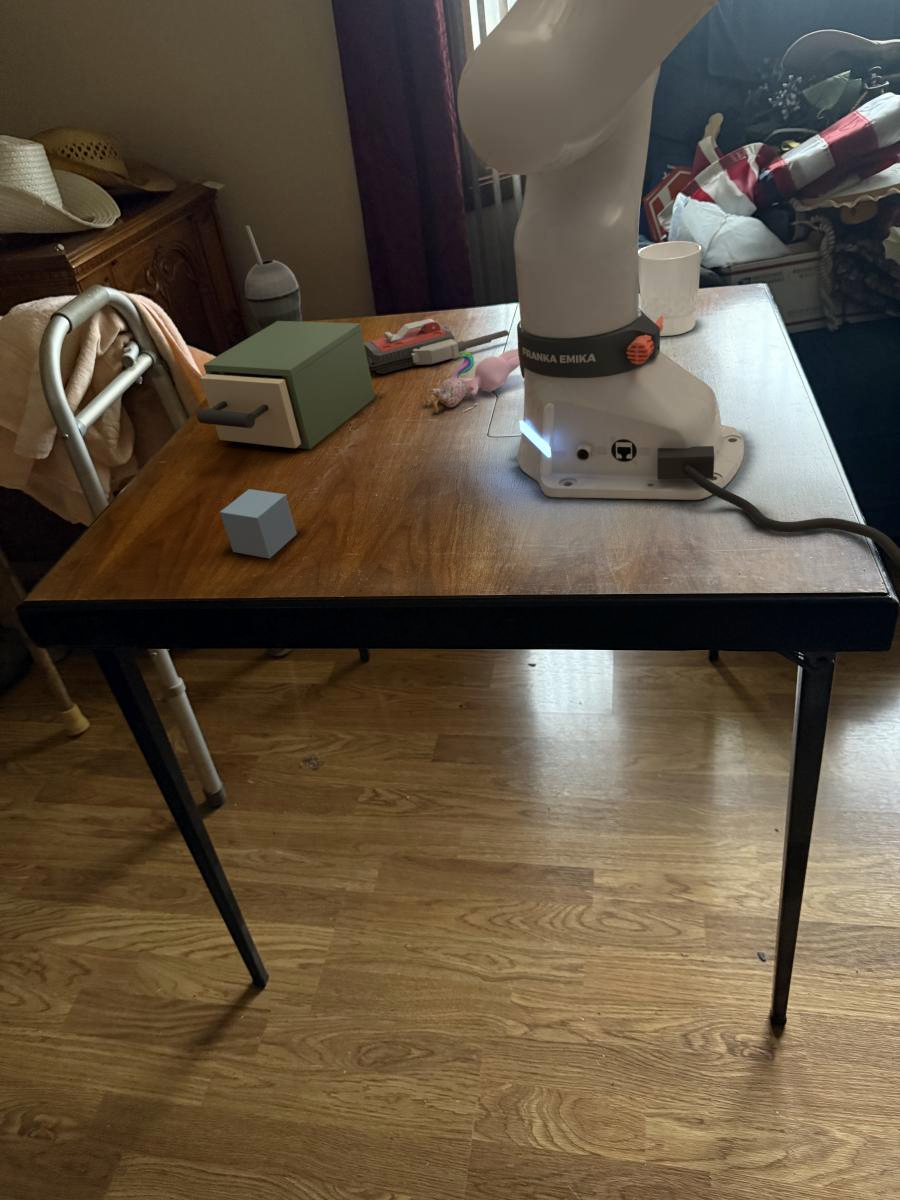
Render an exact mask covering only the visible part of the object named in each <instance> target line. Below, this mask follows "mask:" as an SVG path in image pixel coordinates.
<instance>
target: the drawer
mask: <svg viewBox="0 0 900 1200" xmlns="http://www.w3.org/2000/svg"><path fill="white" fill-rule="evenodd" d="M219 373H220V375H211V374H206V373H205V375H203V376H201V377H200V378H199V379H200V382H201V386H202V388H203V392H204V395H205V398H206V401H207V405H208V408H209V409H208V408H201V409H199V410H198V411H197V413H196V418H197V421H198V422H199V423H200V424H204V425H214V427H215V430H216V433H217V436H218V440H219V441H225V442H226V441H228V442H234V443H235V442H236V443H243V444H254V445H263V446H272V447H279V448H280V447H282V448H289V449H298V448H297V447H298V446H299V445H300V444H301V441H300V437H299V435H300V436H301V432H300V428H299V424H298V420H297V416H296V412H295V408H294V405H293V401H292V397H291V393H290V389H289V385H288V381H287V376H275V375H260V374H245V373H230V372H219Z"/></svg>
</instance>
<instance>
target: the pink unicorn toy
mask: <svg viewBox="0 0 900 1200" xmlns="http://www.w3.org/2000/svg"><path fill="white" fill-rule="evenodd" d="M459 358H461V359H463V360H462V362H461V363H460V364H459V365H458V366H457V367H456V370H455V371H454V374H453V375H452V377H450V378H448V379H446V380H444V381H443V382H442V383H441V384H440V386H439V387H438V388H430V389H429V391H428V393H427V394H426V393H425V392H423V395H424V399H425V401H424V402H425V404H427V407H429V406H430V400H429V399H430V396H431V395H433V396H434V397H435V398H436V399H434V398H431V400H432V401H433V402H432V404H433V410H434V409H435V410H436V413H438V412H439V407H438V403H442V404H443V405H444V406H445V407H446V408H455V407H456V406H457V405H458V404H459V403H460V402H461V401H462V400H463V398H464V397H465V396H470V395H471V396H473V397H474V396H476V394H477V393H478V392H479V387H480V390H481V391H486V392H487V393H492V392H493V391H495V390H497V389H499V388H500V387H501V386H502V385H503V384H505V383H506V382H507V380H508V378H509V376H510V374H511V373H512V372H514V371H515V370H516V369H517V368H519V367H520V362H519V356H518V348H511V349H509V350H506V351H504V352H503V353H501V354H500V355H498V356H496V355H492V356H487V357H485V358H483V359H481V361H480V362H478V364H477V365H476V367H475V370H474V377H473V378H465V377H460V376H461V375H463V374H466V373H468V372H469V371H471V370H472V369H473V367H474V364H475V358H474V355H473V354H472V353H471V352H464V353H462V354H461V355H459Z"/></svg>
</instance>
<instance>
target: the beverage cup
mask: <svg viewBox="0 0 900 1200" xmlns="http://www.w3.org/2000/svg"><path fill="white" fill-rule="evenodd" d="M250 227H251V226H250V225H246V226H245V230H246V233H247V236H248V238H249V241H250V243H251V247H252V249H253V252H254V255H255V257H256V261H257V263H255V264H253V266H252V267H251V268H250V269H249V271H248V272H247V274H246V277H245V281H244V291H245V292H244V293H245V301H246V302H247V303H248V307H249V308H250V311H251V313H252V315H253V316H254V319H255V321H256V323H257V326H258V330H259V332H260V331H261V330H263V329H265V328H266V327H268V326H270V325H272V324H273V323H275V322H277V321H297V322H303V316H302V309H301V304H302V303H301V292H300V290H301V287H300V285H299V283H298V280H297V278H296V276H295V274H294V273H293V271H292V270H291V269H290V268H289V267H288V266H287V265H286V264H284V263H283V262H280V261H278V260H275V259H264V260H262V257H261V255H260V252H259V249H258V246H257V244H256V241H255V237H254V235H253V233H252V231H251V228H250Z"/></svg>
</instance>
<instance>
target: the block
mask: <svg viewBox="0 0 900 1200" xmlns="http://www.w3.org/2000/svg"><path fill="white" fill-rule="evenodd" d="M219 514H220V516H221V520H222V522H223V526H224V529H225V532H226V535H227V538H228V541H229V544H230V547H231V549H232V552H233V553H237V554H241V555H242V554H243V555H247V556H252V557H253V556H254V557H258V558H264V559H271V558H273V556H274V555H276V554H277V553H278V552H280V550H281V549H282V548H283V547H285V546H286V545H287V544H288V543H289V542H290V541H291V540H293V538H294V537H296V536H297V534H298V533H297V530H296V526H295V523H294V519H293V516H292V513H291V509H290V504H289V501H288V497H287V495H286V493H278V492H272V491H266V490H257V489H252V488H251V489H250V488H248V489H247V490H246V491H245V492H243V493H242V494H241V495H239V496H238V497H237V498H236V499H234V500H233V501H231V503H229V504H228V505H227V506H225V507H224V508H223V509H222V510H220V511H219Z"/></svg>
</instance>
